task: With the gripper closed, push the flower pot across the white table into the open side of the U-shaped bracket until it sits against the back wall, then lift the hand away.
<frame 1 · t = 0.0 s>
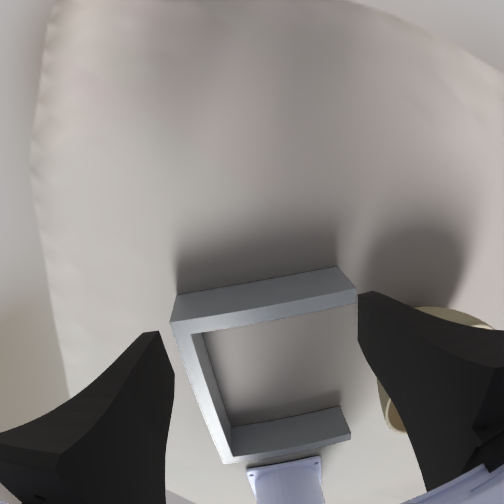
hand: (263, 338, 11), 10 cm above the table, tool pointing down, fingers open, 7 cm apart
flower pot: (404, 332, 25), on the table
bracket: (291, 363, 24), on the table
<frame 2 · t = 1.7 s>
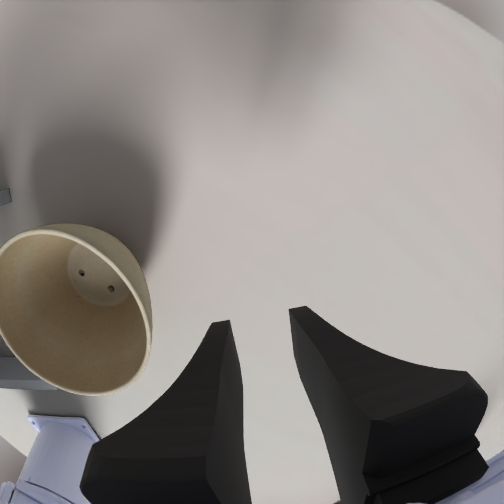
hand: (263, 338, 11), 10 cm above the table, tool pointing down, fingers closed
flower pot: (102, 270, 21), on the table
bracket: (3, 290, 20), on the table
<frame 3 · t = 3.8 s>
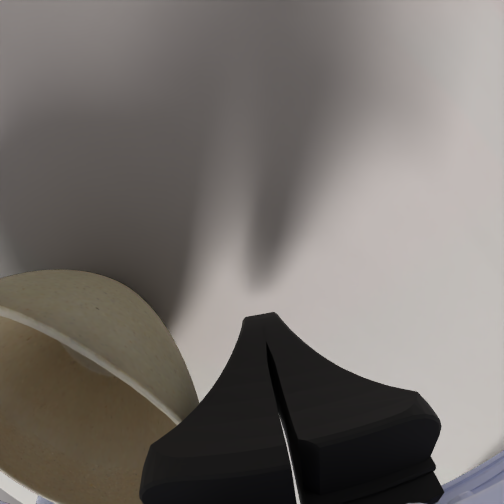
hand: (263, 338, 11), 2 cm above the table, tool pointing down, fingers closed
flower pot: (106, 326, 13), on the table, touching gripper
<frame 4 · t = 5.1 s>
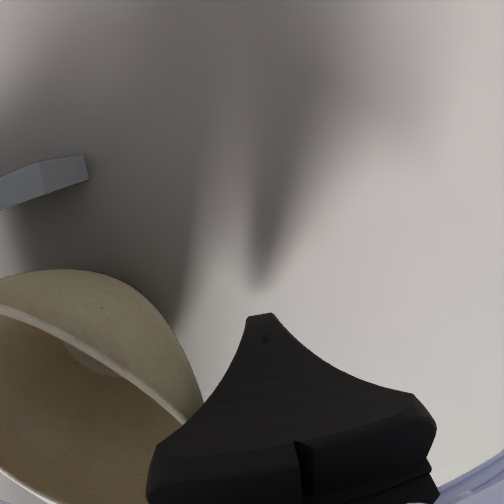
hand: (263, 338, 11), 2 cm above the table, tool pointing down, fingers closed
flower pot: (109, 326, 13), on the table, touching gripper
bracket: (60, 334, 13), on the table
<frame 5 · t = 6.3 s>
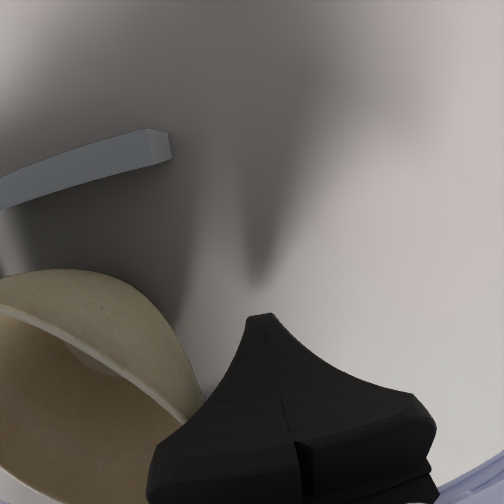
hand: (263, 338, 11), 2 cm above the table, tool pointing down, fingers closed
flower pot: (110, 325, 13), on the table, touching gripper
bracket: (120, 328, 13), on the table
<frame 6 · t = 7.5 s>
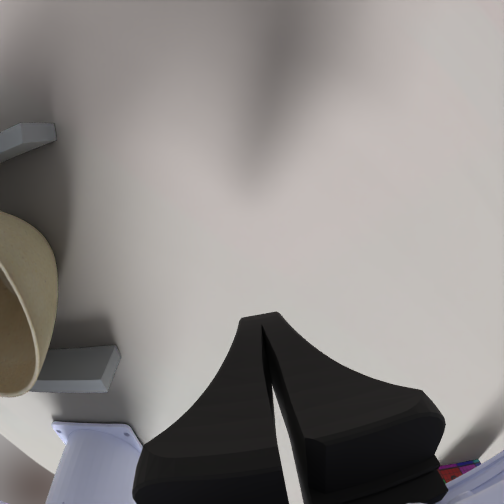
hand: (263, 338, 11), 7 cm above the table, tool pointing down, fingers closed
flower pot: (26, 260, 17), on the table
bracket: (31, 261, 17), on the table
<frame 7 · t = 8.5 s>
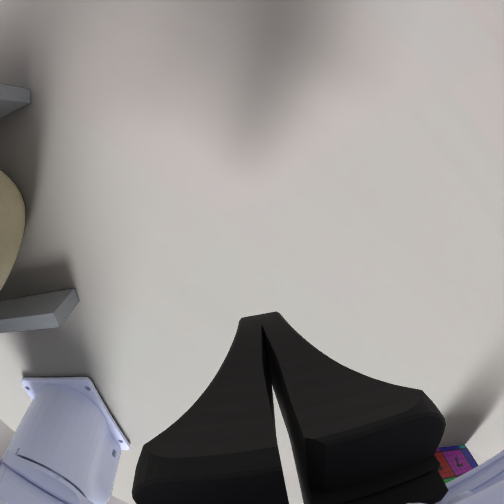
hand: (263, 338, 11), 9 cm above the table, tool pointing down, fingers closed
flower pot: (1, 211, 18), on the table
puzzle: (376, 496, 35), on the table
bracket: (5, 211, 17), on the table
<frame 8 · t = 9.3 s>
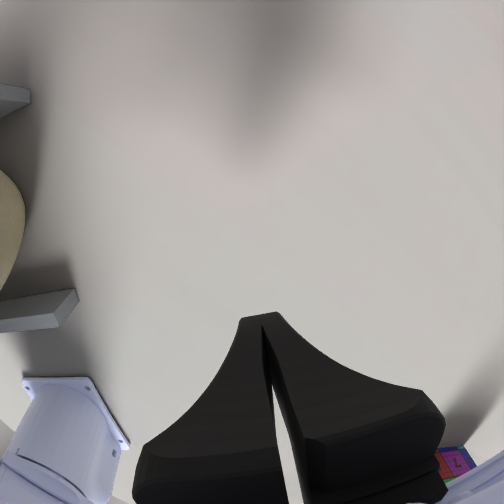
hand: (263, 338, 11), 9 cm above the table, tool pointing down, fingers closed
flower pot: (1, 211, 18), on the table
puzzle: (374, 496, 35), on the table
bracket: (5, 211, 17), on the table
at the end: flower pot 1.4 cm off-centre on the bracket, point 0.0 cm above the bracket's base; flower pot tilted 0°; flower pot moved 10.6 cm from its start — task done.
